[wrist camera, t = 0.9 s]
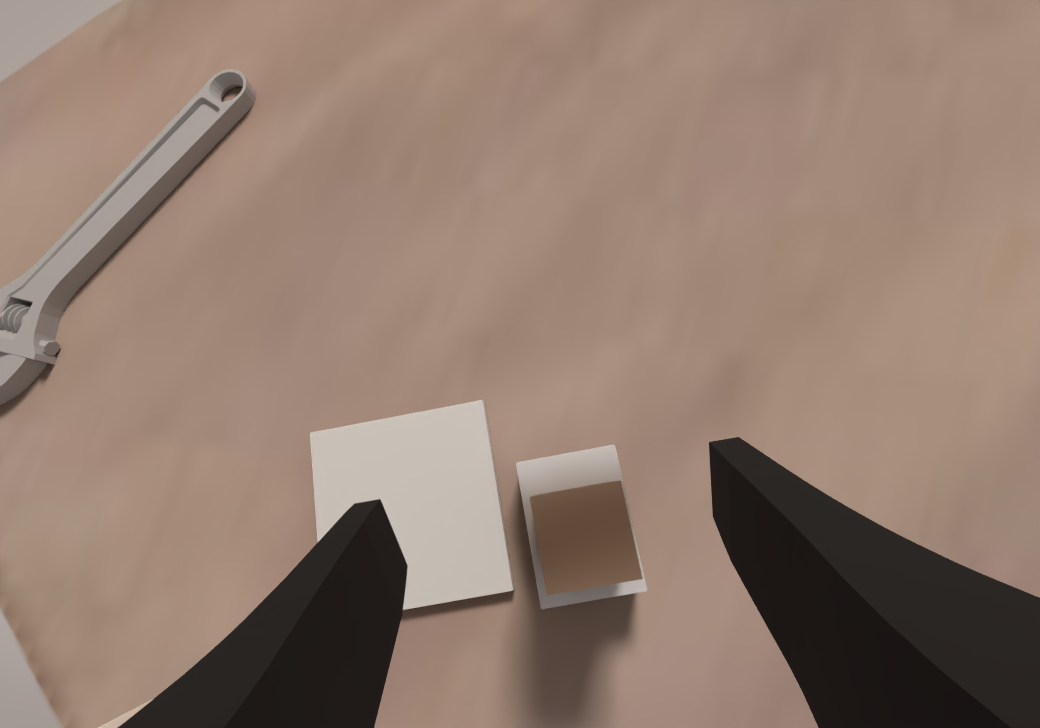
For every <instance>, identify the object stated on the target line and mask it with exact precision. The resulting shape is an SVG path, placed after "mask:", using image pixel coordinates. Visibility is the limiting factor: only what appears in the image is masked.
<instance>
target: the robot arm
mask: <svg viewBox="0 0 1040 728" xmlns="http://www.w3.org/2000/svg"><path fill="white" fill-rule="evenodd" d="M709 452H710V470H711V489H712V508H713V518H714V521H715V523H716V526H717V528H718V531H719V533H720V536H721V538H722V541H723V543H724V545H725V548H726V550H727V552H728V555H729V557H730V560H731V562H732V564H733V565H734V567H735V569H736V571H737V573H738V575H739V576H740V578H741V580H742V582H743V584H744V586H745V587H746V589H747V591H748V593H749V595H750V596H751V598H752V600H753V602H754V604H755V605H756V607H757V609H758V611H759V612H760V614H761V616H762V618H763V620H764V621H765V623H766V625H767V627H768V629H769V630H770V632H771V634H772V636H773V638H774V639H775V641H776V643H777V645H778V646H779V648H780V650H781V652H782V654H783V655H784V657H785V659H786V661H787V663H788V664H789V666H790V668H791V670H792V672H793V674H794V676H795V678H796V680H797V682H798V684H799V686H800V688H801V690H802V692H803V694H804V696H805V698H806V701H807V703H808V705H809V707H810V709H811V712H812V714H813V716H814V718H815V721H816V723H817V725H818V727H819V728H1040V598H1039V597H1036V596H1034V595H1031V594H1029V593H1026V592H1024V591H1022V590H1019V589H1017V588H1014V587H1012V586H1010V585H1007V584H1005V583H1002V582H1000V581H997V580H995V579H993V578H990V577H988V576H985V575H983V574H981V573H978V572H976V571H974V570H972V569H969V568H967V567H965V566H963V565H960V564H958V563H956V562H954V561H951V560H949V559H947V558H945V557H943V556H941V555H939V554H937V553H935V552H933V551H931V550H928V549H926V548H924V547H922V546H920V545H918V544H916V543H914V542H912V541H910V540H908V539H906V538H904V537H902V536H900V535H898V534H896V533H894V532H892V531H890V530H888V529H886V528H884V527H883V526H881V525H879V524H877V523H875V522H874V521H872V520H870V519H868V518H866V517H865V516H863V515H861V514H859V513H857V512H856V511H854V510H852V509H850V508H848V507H847V506H845V505H843V504H842V503H840V502H838V501H837V500H835V499H833V498H831V497H830V496H828V495H827V494H825V493H823V492H822V491H820V490H818V489H817V488H815V487H814V486H812V485H810V484H809V483H807V482H806V481H804V480H802V479H801V478H799V477H798V476H796V475H795V474H793V473H792V472H790V471H789V470H787V469H786V468H784V467H783V466H781V465H780V464H778V463H777V462H775V461H773V460H772V459H771V458H769V457H768V456H766V455H765V454H763V453H762V452H760V451H759V450H757V449H756V448H754V447H753V446H751V445H750V444H748V443H747V442H745V441H744V440H742V439H741V438H739V437H736V438H731V439H725V440H719V441H713V442H709ZM407 569H408V565H407V563H406V560H405V558H404V555H403V553H402V551H401V548H400V546H399V543H398V541H397V538H396V536H395V533H394V531H393V529H392V526H391V524H390V521H389V519H388V516H387V514H386V511H385V509H384V507H383V504H382V502H381V499H378V500H372V501H366V502H360V503H354V504H353V505H352V506H351V507H350V508H349V509H348V510H347V511H346V512H345V513H344V514H343V515H342V517H341V518H340V519H339V520H338V521H337V522H336V523H335V524H334V525H333V526H332V527H331V529H330V530H329V531H328V532H327V533H326V534H325V535H324V536H323V537H322V539H321V540H320V541H319V542H318V543H317V544H316V545H315V546H314V547H313V548H312V550H311V551H310V552H309V553H308V554H307V555H306V556H305V557H304V558H303V559H302V560H301V562H300V563H299V564H298V565H297V566H296V567H295V568H294V569H293V570H292V571H291V573H290V574H289V575H288V576H287V577H286V578H285V579H284V580H283V581H282V582H281V583H280V584H279V585H278V586H277V587H276V588H275V589H274V590H273V591H272V592H271V593H270V594H269V595H268V596H267V597H266V598H265V599H264V600H263V601H262V602H261V603H260V604H259V605H258V606H257V607H256V608H255V609H254V611H253V612H252V613H251V614H250V615H249V616H248V617H247V618H246V619H245V620H244V621H243V622H242V623H241V624H239V625H238V626H237V627H236V628H235V629H234V630H233V631H232V632H231V633H230V634H229V635H228V636H227V637H226V638H225V639H224V640H222V641H221V642H220V643H219V644H218V645H217V646H216V647H215V648H214V649H212V650H211V651H210V652H209V653H208V654H207V655H206V656H205V657H203V658H202V659H201V660H200V661H199V662H198V663H197V664H196V665H194V666H193V667H192V668H191V669H190V670H189V671H188V672H186V673H185V674H184V675H183V676H182V677H180V678H179V679H178V680H177V681H175V682H174V683H173V684H172V685H171V686H169V687H168V688H167V689H166V690H164V691H163V692H162V693H161V694H159V695H158V696H157V697H156V698H154V699H153V700H152V701H151V702H149V703H148V704H147V705H146V706H144V707H143V708H142V709H141V710H139V711H138V712H137V713H136V714H134V715H133V716H132V717H131V718H129V719H128V720H127V721H126V722H124V723H123V724H122V725H120V726H119V727H118V728H374V726H375V721H376V717H377V713H378V709H379V705H380V701H381V697H382V693H383V689H384V685H385V681H386V677H387V673H388V669H389V665H390V661H391V657H392V653H393V649H394V645H395V641H396V637H397V633H398V629H399V625H400V620H401V616H402V612H403V604H404V596H405V588H406V579H407Z"/></svg>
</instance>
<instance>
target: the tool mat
mask: <svg viewBox="0 0 1040 728" xmlns="http://www.w3.org/2000/svg"><path fill="white" fill-rule="evenodd" d="M310 440H311V454H312V469H313V483H314V497H315V512H316V526H317V540H318V542H319V541H320V540H321V539H322V537H323V536H324V535H325V534H326V533H327V532H328V531H329V530H330V529H331V527H332V526H333V525H334V524H335V523H336V522H337V521H338V520H339V519H340V518H341V517H342V515H343V514H344V513H345V512H346V511H347V510H348V509H349V508H350V507H351V506H352V505H353V504H354V503H360V502H366V501H372V500H378V499H381V502H382V504H383V507H384V509H385V511H386V514H387V516H388V519H389V521H390V524H391V526H392V529H393V531H394V533H395V536H396V538H397V541H398V543H399V546H400V548H401V551H402V553H403V555H404V558H405V560H406V563H407V565H408V569H407V579H406V588H405V596H404V604H403V610H405V609H411V608H417V607H423V606H428V605H434V604H440V603H445V602H451V601H457V600H462V599H468V598H474V597H480V596H485V595H491V594H497V593H502V592H508V591H513V590H514V582H513V576H512V570H511V563H510V557H509V551H508V545H507V539H506V532H505V526H504V520H503V514H502V507H501V501H500V495H499V489H498V483H497V476H496V470H495V464H494V458H493V451H492V445H491V439H490V433H489V427H488V420H487V414H486V408H485V402H484V401H483V400H480V401H474V402H469V403H464V404H459V405H453V406H448V407H443V408H438V409H432V410H427V411H422V412H417V413H411V414H406V415H401V416H396V417H390V418H385V419H380V420H375V421H369V422H364V423H359V424H354V425H348V426H343V427H338V428H333V429H327V430H322V431H317V432H312V433H310Z"/></svg>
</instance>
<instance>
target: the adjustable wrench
mask: <svg viewBox="0 0 1040 728" xmlns="http://www.w3.org/2000/svg"><path fill="white" fill-rule="evenodd" d="M234 87H243V88H242V90H241V92H240V93H239V95H237V96H236V97H235V98H233V99H231V100H229V101H225V102H222V99H223V97H224V95H225V94H226V92H228V91H229V90H230V89H232V88H234ZM255 100H256V92H255V90H254V88H253V86H252V85H251V84H250V82H249V81H248V80H247V78H246V77H245V76H244V75H243V74H242V73H241V72H240V71H237V70H231V69H228V70H224V71H221V72H219V73H217V74H216V75H214V76H213V77H212V78H211V79H210V80H209V81H208V82H207V83H206V84H205V85H204V86H203V87H202V89H201V90H200V91H199V92H198V93H197V94H196V95H195V96H194V97H193V98H192V99H191V100H190V101H189V102H188V103H187V104H186V105H185V107H184V108H183V109H182V110H181V111H180V112H179V113H178V114H177V115H176V116H175V117H174V118H173V119H172V120H171V121H170V122H169V123H168V125H167V126H166V127H165V128H164V129H163V130H162V131H161V132H160V133H159V134H158V135H157V136H156V137H155V138H154V139H153V140H152V141H151V142H150V144H149V145H148V146H147V147H146V148H145V149H144V150H143V151H142V152H141V153H140V154H139V155H138V156H137V157H136V158H135V159H134V160H133V162H132V163H131V164H130V165H129V166H128V167H127V168H126V169H125V170H124V171H123V172H122V173H121V174H120V175H119V176H118V177H117V178H116V179H115V181H114V182H113V183H112V184H111V185H110V186H109V187H108V188H107V189H106V190H105V191H104V192H103V193H102V194H101V195H100V196H99V197H98V199H97V200H96V201H95V202H94V203H93V204H92V205H91V206H90V207H89V208H88V209H87V210H86V211H85V212H84V213H83V214H82V215H81V216H80V218H79V219H78V220H77V221H76V222H75V223H74V224H73V225H72V226H71V227H70V228H69V229H68V230H67V231H66V232H65V233H64V234H63V236H62V237H61V238H60V239H59V240H58V241H57V242H56V243H55V244H54V245H53V246H52V247H51V248H50V249H49V250H48V251H47V252H46V253H45V255H44V256H43V257H42V258H41V259H40V260H39V261H38V262H37V263H36V264H35V265H34V266H33V267H31V268H30V269H29V270H28V271H27V272H26V273H24V274H23V275H22V276H20V277H19V278H17V279H16V280H14V281H13V282H11V283H9V284H7V285H6V286H4V287H2V288H1V289H0V405H2V404H4V403H6V402H8V401H9V400H11V399H13V398H14V397H16V396H17V395H19V394H20V393H21V392H23V391H24V390H25V389H26V388H27V387H28V386H29V385H30V384H31V383H32V382H33V381H34V380H35V379H36V378H37V377H38V376H39V375H40V373H41V372H42V371H43V370H44V368H45V367H46V366H47V364H48V363H50V364H54V365H55V363H56V359H57V358H56V355H55V354H56V353H57V352H58V351H59V344H58V343H56V342H55V338H56V334H57V330H58V326H59V322H60V318H61V316H62V314H63V311H64V309H65V308H66V306H67V304H68V303H69V301H70V300H71V298H72V297H73V296H74V294H75V293H76V292H77V291H78V289H79V288H80V287H81V286H82V285H83V284H84V283H85V282H86V281H87V280H88V279H89V278H90V277H91V276H92V275H93V274H94V273H95V272H96V270H97V269H98V268H99V267H100V266H101V265H102V264H103V263H104V262H105V261H106V260H107V259H108V258H109V257H110V256H111V255H112V254H113V253H114V252H115V251H116V249H117V248H118V247H119V246H120V245H121V244H122V243H123V242H124V241H125V240H126V239H127V238H128V237H129V236H130V235H131V234H132V233H133V232H134V231H135V230H136V228H137V227H138V226H139V225H140V224H141V223H142V222H143V221H144V220H145V219H146V218H147V217H148V216H149V215H150V214H151V213H152V212H153V211H154V210H155V208H156V207H157V206H158V205H159V204H160V203H161V202H162V201H163V200H164V199H165V198H166V197H167V196H168V195H169V194H170V193H171V192H172V191H173V190H174V189H175V187H176V186H177V185H178V184H179V183H180V182H181V181H182V180H183V179H184V178H185V177H186V176H187V175H188V174H189V173H190V172H191V171H192V170H193V169H194V167H195V166H196V165H197V164H198V163H199V162H200V161H201V160H202V159H203V158H204V157H205V156H206V155H207V154H208V153H209V152H210V151H211V150H212V149H213V148H214V146H215V145H216V144H217V143H218V142H219V141H220V140H221V139H222V138H223V137H224V136H225V135H226V134H227V133H228V132H229V131H230V130H231V129H232V128H233V127H234V125H235V124H236V123H237V122H238V121H239V120H240V119H241V118H242V117H243V116H244V115H245V114H246V113H247V112H248V111H249V110H250V109H251V107H252V106H253V104H254V103H255ZM29 304H32V305H31V306H29ZM37 360H38V361H37ZM41 361H42V362H41ZM44 362H46V363H44Z"/></svg>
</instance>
